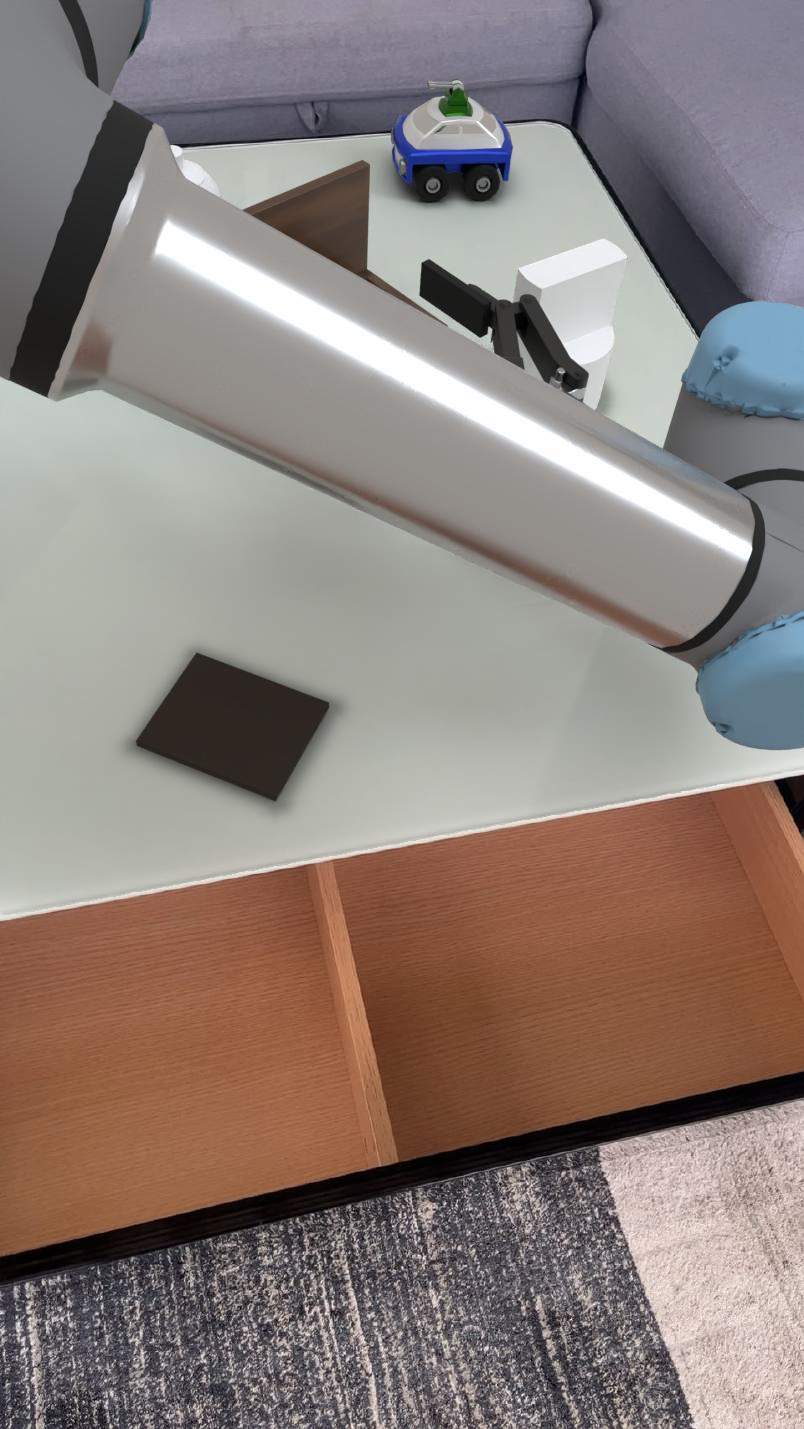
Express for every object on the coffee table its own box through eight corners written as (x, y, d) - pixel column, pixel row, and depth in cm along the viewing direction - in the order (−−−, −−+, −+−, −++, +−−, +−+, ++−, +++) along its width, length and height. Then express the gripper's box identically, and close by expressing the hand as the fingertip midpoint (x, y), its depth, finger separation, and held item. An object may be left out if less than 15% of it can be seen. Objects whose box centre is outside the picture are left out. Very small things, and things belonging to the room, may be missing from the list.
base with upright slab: (538, 439, 88) (564, 311, 78) (474, 378, 92) (491, 249, 82) (621, 403, 91) (656, 276, 81) (556, 346, 95) (582, 218, 85)
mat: (136, 745, 69) (135, 740, 68) (197, 657, 73) (196, 652, 73) (275, 801, 67) (275, 796, 66) (329, 707, 71) (329, 702, 71)
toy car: (385, 156, 112) (389, 59, 104) (497, 153, 113) (509, 58, 106) (398, 204, 107) (403, 106, 99) (514, 201, 108) (528, 104, 100)
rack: (445, 350, 94) (459, 221, 84) (264, 447, 85) (255, 317, 76) (359, 288, 98) (362, 159, 88) (179, 375, 90) (160, 243, 80)
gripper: (426, 607, 65) (217, 427, 73) (682, 435, 75) (473, 294, 84) (434, 519, 59) (205, 334, 67) (712, 344, 69) (484, 202, 78)
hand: (353, 312), depth 75 cm, fingers open, 13 cm apart
